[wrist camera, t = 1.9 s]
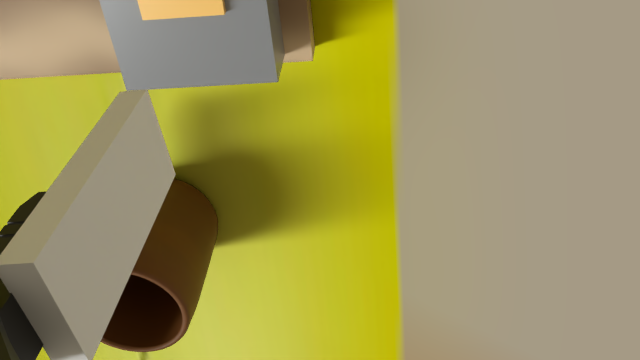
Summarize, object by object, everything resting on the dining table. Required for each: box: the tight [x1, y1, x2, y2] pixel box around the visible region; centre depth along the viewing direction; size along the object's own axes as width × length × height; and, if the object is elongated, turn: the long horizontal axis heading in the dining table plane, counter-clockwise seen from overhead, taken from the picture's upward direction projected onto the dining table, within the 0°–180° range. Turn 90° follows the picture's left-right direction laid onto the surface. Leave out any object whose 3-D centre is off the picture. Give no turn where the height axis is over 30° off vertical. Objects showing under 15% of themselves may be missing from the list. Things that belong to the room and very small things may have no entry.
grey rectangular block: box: [99, 0, 285, 91], centre depth 30 cm, size 7×8×4 cm
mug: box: [100, 179, 218, 352], centre depth 38 cm, size 12×8×9 cm, turn 6°
